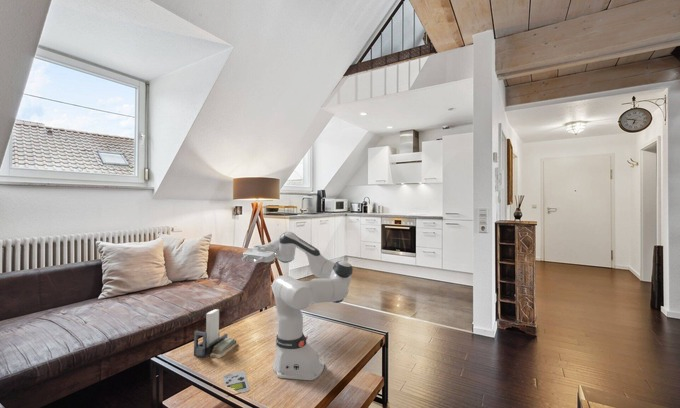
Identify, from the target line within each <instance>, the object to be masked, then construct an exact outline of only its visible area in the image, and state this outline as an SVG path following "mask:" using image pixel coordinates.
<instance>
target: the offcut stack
mask: <svg viewBox="0 0 680 408" xmlns="http://www.w3.org/2000/svg"><path fill="white" fill-rule="evenodd" d="M238 344H239V343H238V342H237V338H233V337H229V336H227V338H226V339H224V340H223V341H221V342H220V343H218V344H217V345H216V346H214V349H213V351H212V353H211V354H209V356H210V358H215V359H220V358H222V357H223V356H224V355H226V354H227V353H228V352H230V351H231V350H233V349H234V348H235V347H237V346H238Z"/></svg>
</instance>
